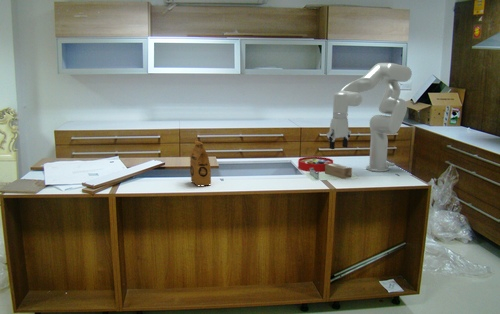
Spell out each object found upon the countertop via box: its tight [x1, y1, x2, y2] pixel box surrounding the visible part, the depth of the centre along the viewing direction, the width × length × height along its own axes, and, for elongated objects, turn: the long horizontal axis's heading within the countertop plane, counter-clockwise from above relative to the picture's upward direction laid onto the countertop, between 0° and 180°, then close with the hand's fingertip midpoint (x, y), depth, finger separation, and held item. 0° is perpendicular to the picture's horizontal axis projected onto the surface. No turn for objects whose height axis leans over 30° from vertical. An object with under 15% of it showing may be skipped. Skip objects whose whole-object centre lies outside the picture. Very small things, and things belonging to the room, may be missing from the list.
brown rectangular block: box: [325, 162, 353, 180], centre depth 249 cm, size 6×14×5 cm, turn 35°
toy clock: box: [297, 156, 334, 172], centre depth 267 cm, size 20×6×20 cm
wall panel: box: [303, 172, 359, 182], centre depth 249 cm, size 26×16×1 cm, turn 100°
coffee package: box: [189, 140, 212, 186], centre depth 236 cm, size 10×12×22 cm
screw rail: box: [309, 168, 320, 181], centre depth 247 cm, size 2×13×4 cm, turn 10°
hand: (338, 147), depth 246 cm, fingers open, 9 cm apart
